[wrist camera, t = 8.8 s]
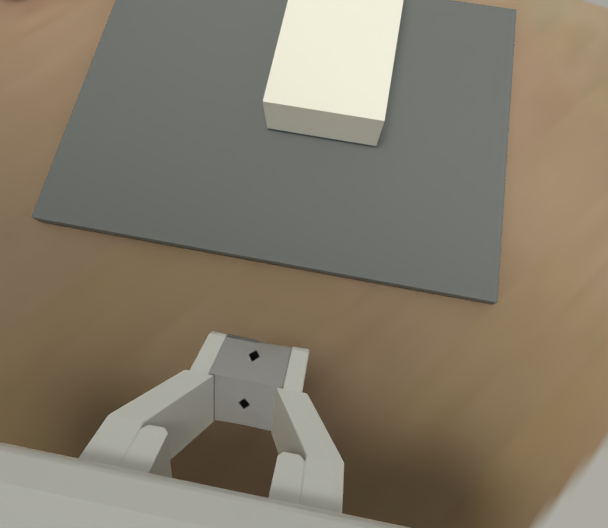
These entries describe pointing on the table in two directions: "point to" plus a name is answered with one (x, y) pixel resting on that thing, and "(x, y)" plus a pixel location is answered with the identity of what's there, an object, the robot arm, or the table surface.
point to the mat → (293, 147)
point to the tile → (333, 69)
